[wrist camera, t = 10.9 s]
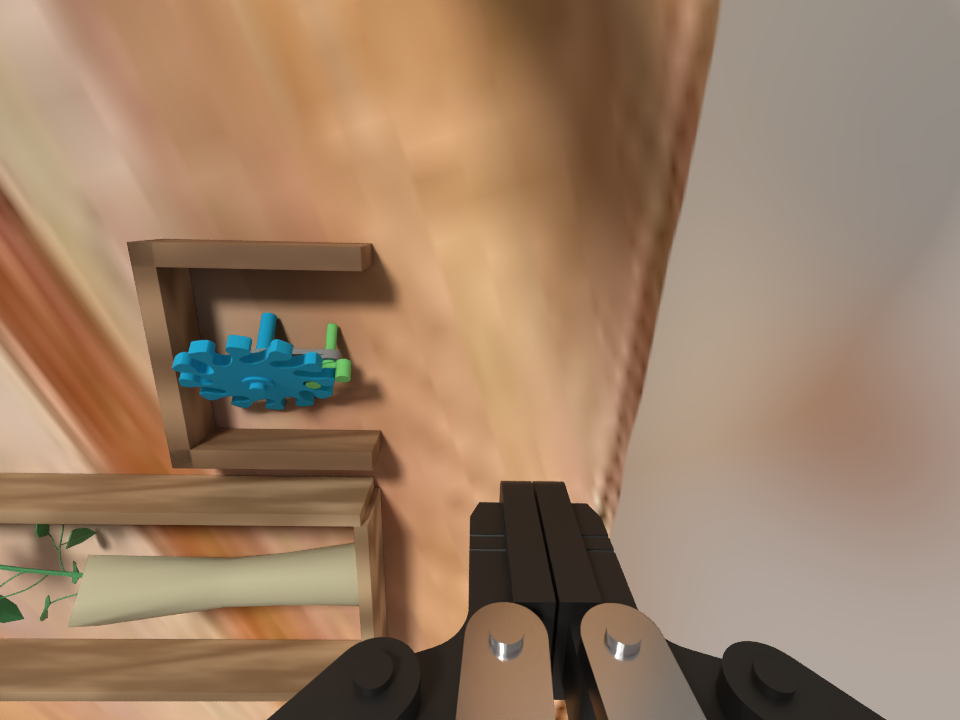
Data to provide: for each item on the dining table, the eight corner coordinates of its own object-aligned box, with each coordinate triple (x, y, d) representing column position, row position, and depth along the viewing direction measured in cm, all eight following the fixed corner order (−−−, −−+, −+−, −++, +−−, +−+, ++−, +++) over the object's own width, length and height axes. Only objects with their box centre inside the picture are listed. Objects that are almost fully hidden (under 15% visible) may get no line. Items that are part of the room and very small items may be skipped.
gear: (204, 418, 35) (137, 356, 26) (219, 348, 37) (162, 271, 29) (357, 415, 37) (342, 357, 28) (360, 349, 39) (347, 276, 30)
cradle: (162, 238, 32) (126, 242, 29) (371, 243, 33) (360, 247, 29) (199, 445, 37) (172, 468, 34) (381, 447, 37) (372, 470, 34)
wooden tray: (-125, 471, 37) (-212, 509, 33) (379, 477, 38) (366, 514, 34) (-51, 646, 43) (-116, 700, 38) (388, 648, 44) (377, 701, 39)
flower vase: (362, 526, 49) (-64, 544, 39) (369, 444, 42) (-145, 443, 32) (359, 648, 39) (-197, 709, 30) (369, 569, 32) (-350, 616, 23)
